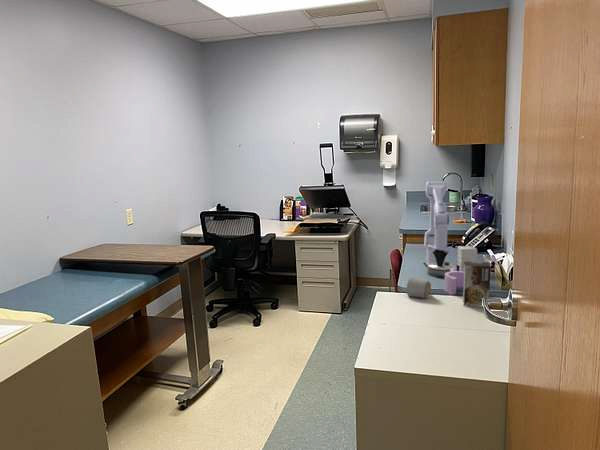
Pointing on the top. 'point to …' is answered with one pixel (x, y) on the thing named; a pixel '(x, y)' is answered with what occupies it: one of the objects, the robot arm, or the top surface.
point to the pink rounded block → (453, 280)
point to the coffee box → (476, 282)
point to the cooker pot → (439, 272)
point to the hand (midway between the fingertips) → (439, 265)
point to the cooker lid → (445, 266)
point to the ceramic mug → (418, 288)
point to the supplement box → (466, 255)
